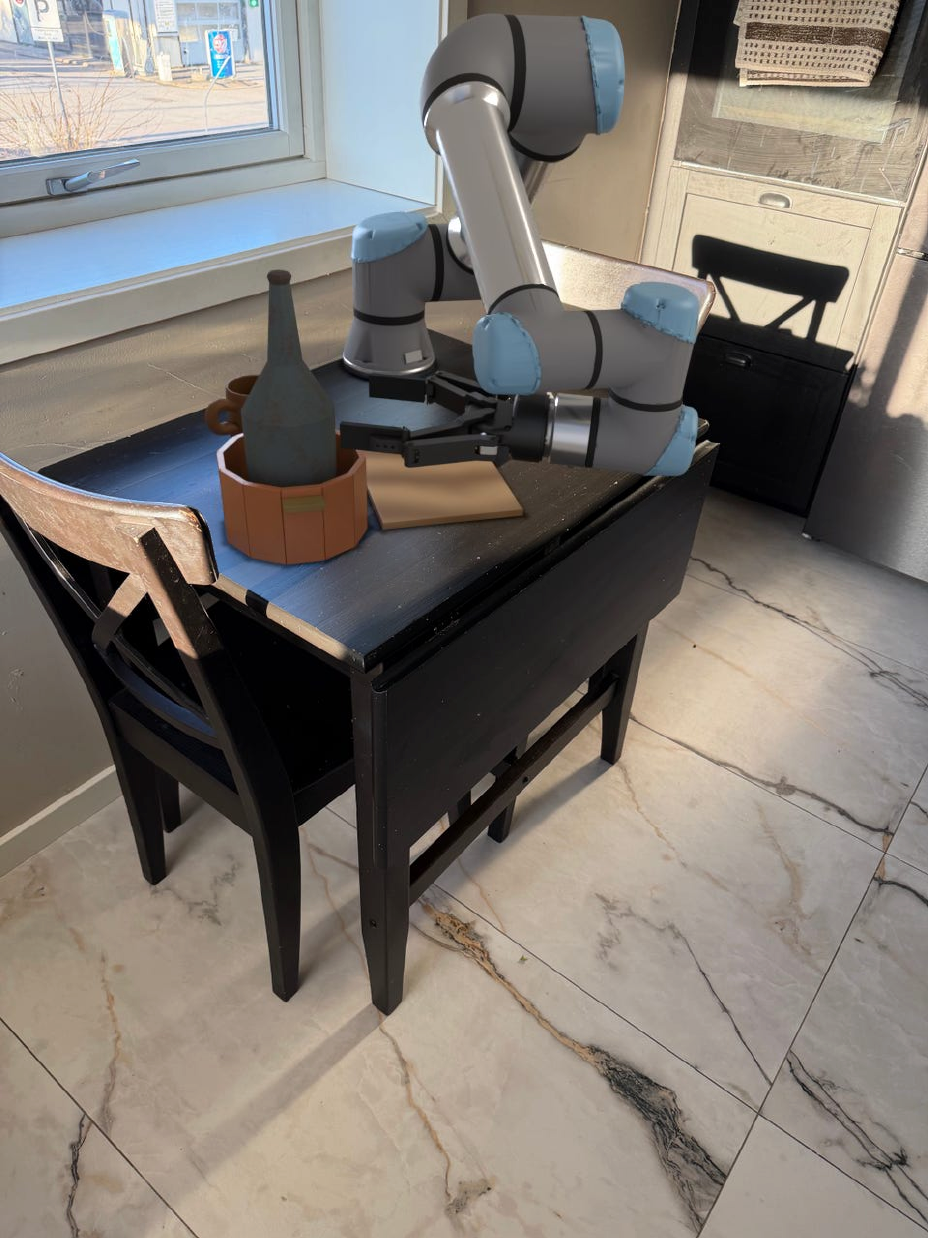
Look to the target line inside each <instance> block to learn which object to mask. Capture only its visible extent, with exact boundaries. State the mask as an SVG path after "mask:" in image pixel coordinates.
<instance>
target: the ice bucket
mask: <svg viewBox="0 0 928 1238" xmlns="http://www.w3.org/2000/svg"><path fill="white" fill-rule="evenodd" d="M335 429H336V456H337V477H336V478H334V479H331V480H329V481H326V482H324V483H321V484H317V485H305V486H294V487H283V488H281V487H275V486H269V485H264V484H258V483H252V482H248V475H247V465H246V456H245V446H244V436H243V433H242V434H239V435H236V436H234V437H232V438H230V439H228V440H227V442H225V443H224V444H223V445H222V446H221V447H220V448H219V449H218V450H217V451H216V452H215V456H216V461H217V463H216V464H217V470H218V471H217V472H218V479H219V487H220V494H221V502H222V511H223V518H224V526H225V533H226V540H227V542H228V544H229V545H231V546H232V547H234V548H235V549H237V550H238V551H240V552H241V553H242V554H243V555H245V556H247V557H248V558H251V559H253V560H254V559H255V560H259V561H264V562H269V563H270V562H271V563H275V564H281V565H287V566H288V565H297V564H307V563H315V562H324V561H328V560H330V559H332V558H334V557H336V556H338V555H340V554H342V553H344V552H346V551H349V550H352V549H354V548H355V547H356V546H357V545H358V544H359V542H360V541H361V539H362V537H363V536H364V534H365V533H366V531H367V530H368V492H367V472H366V456H365V453H364V451H363V450H354V449H344V448H341V446H340V429H339V430H338V429H337V428H335Z"/></svg>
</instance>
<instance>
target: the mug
mask: <svg viewBox="0 0 928 1238" xmlns="http://www.w3.org/2000/svg"><path fill="white" fill-rule="evenodd" d="M259 375H260V374H244V375H240V376H236V377H234V378H232V379H230V380H228V382H227V383H226V385H225V398H224V397H223V398H222V397H219V398H216V399H214V400H212V401H211V402H210V403H209V404H208V405H207V407H206V409H205V413H204V421H205V424H206V427H207V429H208V430H209V431H210V432H211V433H212V434H214V435H216V436H220V437H223V436H229V438H230V439H231V438H232V437H234V436H236V435H239V434H242V433H243V427H242V417H241V409H242V407H243V405H244V403H245V401H246V399H247V397H248V396H249V394H250V392H251V390H252V388H253V386H254V384H255V383H256V381H257V379H258V377H259ZM221 411H224V412H226V413H227V421H223V422H220V420H218V419H219V418H218V415H219V413H220V412H221Z"/></svg>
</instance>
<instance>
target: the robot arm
mask: <svg viewBox="0 0 928 1238" xmlns="http://www.w3.org/2000/svg"><path fill="white" fill-rule="evenodd" d="M625 66H626V65H625V55H624V49H623V44H622V40H621V37H620V34H619V32H618V31H617V28H616V27H615V26H614V25H613V23H612V22H610V21H608V20H605V19H601V18H595V17H594V18H593V17H588V16H586V15H580V16H572V15H571V16H569V15H565V16H564V15H538V14H537V15H536V14H535V15H533V14H503V13H495V12H494V13H491V12H490V13H484V14H479V15H476V16H473V17H470V18H468V19H466V20H465V21H463V22H461V23H459V24H458V25H456V26H455V27H454V28H453V29H452V30H450V31H449V32H448V33H447V35H446V36H445V37H444V38H443V39H442V40H441V41H440V42H439V44H438V45H437V46H436V48H435V50H434V52H433V53H432V55H431V57H430V59H429V61H428V63H427V65H426V67H425V71H424V74H423V77H422V81H421V85H420V92H419V93H420V94H419V112H420V119H421V125H422V129H423V131H424V135H425V139H426V141H427V144H428V145H429V147H430V148H431V150H432V151H433V152H434V153H435V154H437V155H438V156H440V158H441V161H442V165H443V168H444V171H445V175H446V179H447V182H448V186H449V190H450V194H451V196H452V200H453V204H454V206H455V207H454V208H455V210H456V211H454V213H453V215H452V216H451V218H450V220H449V222H448V223H445V222H444V223H429V222H428V220H427V217H426V216H425V215H424V214H422V213H419V212H416V211H415V212H414V211H407V212H405V211H390V212H383V213H378V214H374V215H372V216H369V217H366V218H364V219H362V220H361V221H359V222H358V223H357V224H356V225H355V226H354V228H353V231H352V235H351V252H350V260H351V270H352V271H351V272H352V273H351V274H352V275H351V276H352V322H351V325H350V329H349V332H348V335H347V338H346V341H345V345H344V349H343V352H342V358H343V359H342V361H343V363H342V364H343V367H344V369H345V370H346V371H347V372H349V373H350V374H352V375H353V376H356V377H358V378H361V379H365V380H368V398H374V399H382V400H391V401H401V402H410V403H411V402H413V403H422V404H424V403H425V402H426V405H427V406H429V405H432V404H436V405H438V406H441V408H444V409H446V410H448V411H449V412H452V413H454V414H456V415H458V417H457V418H456V420H455V421H452V422H446V423H443V424H438V425H433V426H429V427H424V428H420V429H416V430H410V429H409V428H408V427H407V426H405V425H404V426H402V427H400V426H391V425H381V424H373V423H364V422H354V421H343V420H341V421H340V423H339V431H340V446H341V448H344V449H354V450H363V451H372V452H381V453H390V454H400V455H401V457H402V458H403V459H404V466H405V467H407V468H415V467H424V466H433V465H442V464H451V463H460V462H469V461H489V462H492V463H494V462H497V461H498V457H499V448H502V447H503V448H504V447H507V448H508V455H509V458H510V459H511V460H512V461H515V462H516V461H517V462H525V463H535V464H536V463H537V464H539V463H540V462H543V458H547V462H548V463H549V464H550V465H559V466H565V467H567V468H568V469H571V470H572V469H574V468H575V467H576V468H577V467H579V468H587V469H594V470H595V469H596V470H604V471H612V472H622V473H630V474H637V475H641V476H644V477H647V476H653V477H654V476H655V477H657V476H658V477H679V476H682V475H684V474H685V473H686V472H687V471H688V470H689V468H690V466H691V464H692V462H693V458H694V454H695V449H696V443H697V442H696V440H697V437H698V427H699V415H698V412H697V410H696V409H695V408H694V407H692V406H687V405H685V404H683V403H684V402H683V396H684V393H683V392H684V388H685V384H686V379H687V375H688V371H689V366H690V363H691V359H692V354H693V350H694V345H695V344H696V343H697V342H696V341H697V333H698V325H699V317H700V316H699V314H700V301H699V298H698V297H697V295H696V294H695V293H694V292H693V291H691V290H690V289H688V288H687V287H684V286H682V285H678V284H675V283H670V282H664V281H642V282H639V283H633V284H632V285H630V286H629V287H628V288H627V289H626V290H625V293H624V295H623V299H622V301H621V302H620V308H614V309H613V308H612V309H611V308H610V309H588V310H565V309H564V305H563V303H562V300H561V298H560V295H559V291H558V289H557V286H556V283H555V279H554V277H553V273H552V270H551V267H550V264H549V261H548V257H547V254H546V251H545V248H544V245H543V241H542V238H541V235H540V232H539V229H538V226H537V223H536V218H535V215H534V213H533V208H534V206H535V204H536V203H537V201H538V199H539V197H540V195H541V193H542V191H543V189H544V187H545V186H546V184H547V182H548V181H549V178H550V176H551V174H552V173H553V171H554V169H555V167H556V165H557V164H558V163H560V162H563V161H566V160H567V159H569V158H570V157H572V156H573V155H574V154H576V152H577V151H578V150H579V148H580V147H581V145H582V143H583V142H584V140H585V138H586V136H587V135H589V134H591V135H592V134H593V135H594V134H595V136H599V137H600V136H601V135H603V134H608V133H610V132H612V131H613V129H614V128H615V127H616V126H617V124H618V121H619V118H620V115H621V112H622V109H623V108H622V107H623V103H624V96H625V83H626V82H625V81H626V67H625ZM459 301H461V302H463V301H481V302H482V306H483V310H484V313H485V315H484V316H482V317H481V318H479V320H478V321H477V322H476V324H475V327H474V331H473V336H472V348H471V349H472V357H473V368H474V369H473V370H474V375H475V377H476V380H477V381H476V380H473V379H469V378H466V377H462V376H460V375H456V374H453V373H449V372H446V371H443V370H436V371H435V372H434V375H430V374H431V373H432V371H434V369H435V359H436V356H435V351H434V348H433V344H432V342H431V337H430V334H429V331H428V328H427V324H426V319H425V318H426V316H425V315H426V303H437V302H459ZM427 375H429V376H427ZM425 376H427V377H425ZM598 389H600V390H601V389H609V393H608V395H609V397H599V396H598V397H597V396H593V395H583V394H574V393H573V394H571V393H563V392H567V391H579V390H581V391H582V390H583V391H584V390H598ZM547 392H551V393H554V392H558V393H557V394H555V398H550V395H548V394H547ZM511 395H512V396H513V395H515V396H514V401H513V402H511ZM476 447H477V449H476ZM416 457H418V458H416Z"/></svg>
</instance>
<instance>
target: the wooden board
mask: <svg viewBox="0 0 928 1238" xmlns="http://www.w3.org/2000/svg"><path fill="white" fill-rule="evenodd" d="M476 449H477V447H476ZM364 453H365V456H366V472H367V496H368V497H369V499H370V502H371V505H372V507H373V509H374V512H375V514H376V517H377V520H378V522H379V524H380V527H381V530H382V531H386V530H395V529H397V530H398V529H407V528H415V527H416V528H417V527H426V526H433V525H434V526H435V525H444V524H454V523H464V522H474V521H475V522H476V521H484V520H493V519H502V518H512V517H521V516H523V513H524V508H523V507H522V505H521V504H520V502H519V501H518V499H517V498H516V496H515V495H514V494H513V492H512V490H511V488H510V487H509V485H508V484H507V482H506V481H505V480H504V478H503V476H502V475H501V473H500V472H499V470H498V469H497V467H496V466H495V464H494V462H489V461H469V462H460V463H451V464H442V465H433V466H424V467H415V468H407V467H405V466H404V459H403V458H402V457H401V455H400V454H390V453H381V452H372V451H364ZM416 458H418V457H416Z"/></svg>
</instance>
